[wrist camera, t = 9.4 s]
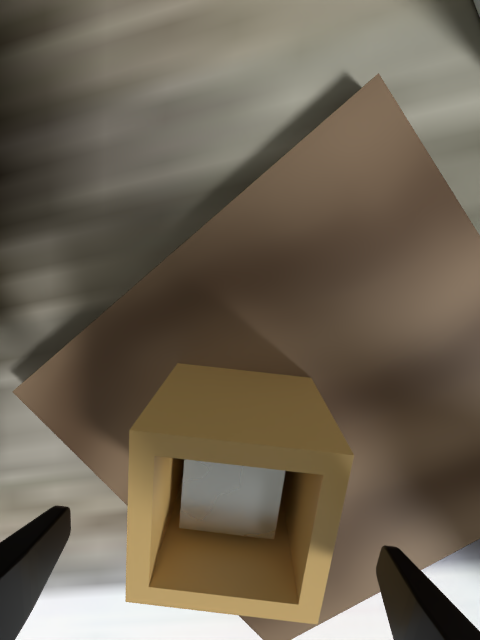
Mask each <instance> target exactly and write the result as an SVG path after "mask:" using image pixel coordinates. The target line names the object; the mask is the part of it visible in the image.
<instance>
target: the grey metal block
mask: <svg viewBox="0 0 480 640" xmlns="http://www.w3.org/2000/svg"><path fill="white" fill-rule="evenodd" d="M284 477H285V471H284V470H275V469H266V468H257V467H249V466H240V465H231V464H222V463H213V462H204V461H196V460H187V459H184V471H183V484H182V497H181V509H180V522H179V528H183V529H191V530H199V531H208V532H216V533H224V534H232V535H241V536H249V537H257V538H265V539H274V537H275V531H276V525H277V519H278V513H279V507H280V501H281V495H282V489H283V483H284Z"/></svg>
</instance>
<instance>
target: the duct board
mask: <svg viewBox="0 0 480 640" xmlns="http://www.w3.org/2000/svg"><path fill="white" fill-rule="evenodd" d="M177 363H181V364H190V365H199V366H208V367H217V368H226V369H236V370H245V371H254V372H263V373H272V374H281V375H290V376H299V377H309V378H312V380H313V382H314V383H315V385H316V387H317V389H318V391H319V393H320V394H321V396H322V398H323V400H324V402H325V403H326V405H327V407H328V409H329V411H330V412H331V414H332V416H333V418H334V420H335V422H336V423H337V425H338V427H339V429H340V431H341V432H342V434H343V436H344V438H345V440H346V441H347V443H348V445H349V447H350V449H351V450H352V452H353V454H354V458H353V463H352V467H351V472H350V477H349V481H348V486H347V491H346V495H345V500H344V505H343V509H342V514H341V519H340V523H339V528H338V532H337V537H336V542H335V546H334V551H333V556H332V560H331V565H330V570H329V574H328V579H327V584H326V588H325V593H324V598H323V602H322V607H321V611H320V616H319V621H318V625H319V624H321V623H323V622H325V621H327V620H328V619H330V618H332V617H334V616H336V615H338V614H340V613H342V612H343V611H345V610H347V609H349V608H351V607H353V606H355V605H357V604H358V603H360V602H362V601H364V600H366V599H368V598H370V597H372V596H373V595H375V594H377V593H379V592H381V591H380V588H379V584H378V580H377V576H376V565H377V562H378V558H379V554H380V551H381V548H382V547H383V546H384V545H386V546H395V547H397V548H399V549H400V550H401V551H402V552H403V553H404V554H405V555H406V556H407V557H408V558H409V559H410V560H411V561H412V562H413V563H414V564H415V565H416V566H417V567H418V568H419V569H420V570H422V569H424V568H426V567H428V566H430V565H431V564H433V563H435V562H437V561H439V560H441V559H443V558H445V557H446V556H448V555H450V554H452V553H454V552H456V551H458V550H460V549H461V548H463V547H465V546H467V545H469V544H471V543H473V542H474V541H476V540H478V539H480V235H479V234H478V232H477V231H476V229H475V227H474V226H473V224H472V223H471V221H470V219H469V218H468V216H467V215H466V213H465V211H464V210H463V208H462V207H461V205H460V203H459V202H458V200H457V199H456V197H455V195H454V194H453V192H452V190H451V189H450V187H449V186H448V184H447V182H446V181H445V179H444V178H443V176H442V174H441V173H440V171H439V170H438V168H437V166H436V165H435V163H434V162H433V160H432V158H431V157H430V155H429V154H428V152H427V150H426V149H425V147H424V145H423V144H422V142H421V141H420V139H419V137H418V136H417V134H416V133H415V131H414V129H413V128H412V126H411V125H410V123H409V121H408V120H407V118H406V117H405V115H404V113H403V112H402V110H401V109H400V107H399V105H398V104H397V102H396V100H395V99H394V97H393V96H392V94H391V92H390V91H389V89H388V88H387V86H386V84H385V83H384V81H383V80H382V78H381V76H380V75H379V73H378V74H377V75H376V76H375V77H374V78H373V79H371V80H370V81H369V82H368V83H367V84H366V85H365V86H363V87H362V88H361V89H360V90H359V91H358V92H357V93H355V94H354V95H353V96H352V97H351V98H350V99H348V100H347V101H346V102H345V103H344V104H343V105H342V106H340V107H339V108H338V109H337V110H336V111H335V112H334V113H332V114H331V115H330V116H329V117H328V118H327V119H325V120H324V121H323V122H322V123H321V124H320V125H319V126H317V127H316V128H315V129H314V130H313V131H312V132H311V133H309V134H308V135H307V136H306V137H305V138H304V139H302V140H301V141H300V142H299V143H298V144H297V145H296V146H294V147H293V148H292V149H291V150H290V151H289V152H288V153H286V154H285V155H284V156H283V157H282V158H281V159H279V160H278V161H277V162H276V163H275V164H274V165H273V166H271V167H270V168H269V169H268V170H267V171H266V172H265V173H263V174H262V175H261V176H260V177H259V178H258V179H256V180H255V181H254V182H253V183H252V184H251V185H250V186H248V187H247V188H246V189H245V190H244V191H243V192H241V193H240V194H239V195H238V196H237V197H236V198H235V199H233V200H232V201H231V202H230V203H229V204H228V205H227V206H225V207H224V208H223V209H222V210H221V211H220V212H218V213H217V214H216V215H215V216H214V217H213V218H212V219H210V220H209V221H208V222H207V223H206V224H205V225H204V226H202V227H201V228H200V229H199V230H198V231H197V232H195V233H194V234H193V235H192V236H191V237H190V238H189V239H187V240H186V241H185V242H184V243H183V244H182V245H181V246H179V247H178V248H177V249H176V250H175V251H174V252H172V253H171V254H170V255H169V256H168V257H167V258H166V259H164V260H163V261H162V262H161V263H160V264H159V265H158V266H156V267H155V268H154V269H153V270H152V271H151V272H149V273H148V274H147V275H146V276H145V277H144V278H143V279H141V280H140V281H139V282H138V283H137V284H136V285H135V286H133V287H132V288H131V289H130V290H129V291H128V292H126V293H125V294H124V295H123V296H122V297H121V298H120V299H118V300H117V301H116V302H115V303H114V304H113V305H112V306H110V307H109V308H108V309H107V310H106V311H105V312H103V313H102V314H101V315H100V316H99V317H98V318H97V319H95V320H94V321H93V322H92V323H91V324H90V325H89V326H87V327H86V328H85V329H84V330H83V331H82V332H80V333H79V334H78V335H77V336H76V337H75V338H74V339H72V340H71V341H70V342H69V343H68V344H67V345H66V346H64V347H63V348H62V349H61V350H60V351H59V352H57V353H56V354H55V355H54V356H53V357H52V358H51V359H49V360H48V361H47V362H46V363H45V364H44V365H43V366H41V367H40V368H39V369H38V370H37V371H36V372H34V373H33V374H32V375H31V376H30V377H29V378H28V379H26V380H25V381H24V382H23V383H22V384H21V385H20V386H18V387H17V388H16V389H15V390H14V391H13V393H14V394H15V395H16V396H17V397H18V398H19V399H20V400H21V401H22V402H23V403H24V404H25V405H26V406H27V407H28V408H29V409H30V410H31V411H32V412H33V413H34V414H35V415H36V416H37V417H38V418H39V419H40V420H41V421H42V422H43V423H44V424H45V425H46V426H48V427H49V428H50V429H51V430H52V431H53V432H54V433H55V434H56V435H57V436H58V437H59V438H60V439H61V440H62V441H63V442H64V443H65V444H66V445H67V446H68V447H69V448H70V449H71V450H72V451H73V452H74V453H75V454H76V455H77V456H78V457H79V458H80V459H81V460H82V461H83V462H84V463H85V464H86V465H87V466H88V467H89V468H90V469H91V470H92V471H93V472H94V473H95V474H96V475H97V476H98V477H99V478H100V479H101V480H102V481H103V482H104V483H105V484H106V485H107V486H108V487H109V488H110V489H111V490H112V491H113V492H114V493H115V494H116V495H117V496H118V497H119V498H120V499H121V500H122V501H123V502H124V503H125V504H126V505H127V506H128V470H129V430H130V428H131V427H132V426H133V424H134V423H135V422H136V420H137V419H138V417H139V416H140V415H141V413H142V412H143V410H144V409H145V408H146V406H147V405H148V404H149V402H150V401H151V399H152V398H153V397H154V395H155V394H156V392H157V391H158V390H159V388H160V387H161V386H162V384H163V383H164V381H165V380H166V379H167V377H168V376H169V374H170V373H171V372H172V370H173V369H174V368H175V366H176V365H177ZM239 616H240V617H241V618H242V619H243V620H244V621H245V622H246V623H247V624H248V625H249V626H250V627H251V628H252V629H253V630H254V631H255V632H256V633H257V634H258V635H259V636H260V637H261V638H262V639H263V640H291V639H293V638H295V637H297V636H298V635H300V634H302V633H304V632H306V631H308V630H310V629H312V628H313V627H315V626H317V624H308V623H300V622H292V621H283V620H275V619H266V618H258V617H250V616H241V615H239Z"/></svg>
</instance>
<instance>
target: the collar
mask: <svg viewBox="0 0 480 640" xmlns="http://www.w3.org/2000/svg"><path fill="white" fill-rule="evenodd" d="M353 458H354V454H353V452H352V450H351V449H350V447H349V445H348V443H347V441H346V440H345V438H344V436H343V434H342V432H341V431H340V429H339V427H338V425H337V423H336V422H335V420H334V418H333V416H332V414H331V412H330V411H329V409H328V407H327V405H326V403H325V402H324V400H323V398H322V396H321V394H320V393H319V391H318V389H317V387H316V385H315V383H314V382H313V380H312V378H309V377H299V376H290V375H281V374H272V373H263V372H254V371H245V370H236V369H226V368H217V367H208V366H199V365H190V364H181V363H177V365H176V366H175V368H174V369H173V370H172V372H171V373H170V374H169V376H168V377H167V379H166V380H165V381H164V383H163V384H162V386H161V387H160V388H159V390H158V391H157V392H156V394H155V395H154V397H153V398H152V399H151V401H150V402H149V404H148V405H147V406H146V408H145V409H144V410H143V412H142V413H141V415H140V416H139V417H138V419H137V420H136V422H135V423H134V424H133V426H132V427H131V428H130V430H129V470H128V515H127V560H126V602H132V603H140V604H149V605H157V606H165V607H174V608H182V609H191V610H199V611H208V612H216V613H224V614H233V615H241V616H250V617H258V618H266V619H275V620H283V621H292V622H300V623H308V624H317V625H318V621H319V616H320V611H321V607H322V602H323V598H324V593H325V588H326V584H327V579H328V574H329V570H330V565H331V560H332V556H333V551H334V546H335V542H336V537H337V532H338V528H339V523H340V519H341V514H342V509H343V505H344V500H345V495H346V491H347V486H348V481H349V477H350V472H351V467H352V463H353ZM184 459H187V460H196V461H204V462H213V463H222V464H231V465H240V466H249V467H257V468H266V469H275V470H284V471H285V477H284V483H283V489H282V495H281V501H280V507H279V513H278V519H277V525H276V531H275V537H274V539H265V538H257V537H249V536H241V535H232V534H224V533H216V532H208V531H199V530H191V529H183V528H179V522H180V509H181V497H182V484H183V471H184Z"/></svg>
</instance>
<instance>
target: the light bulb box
mask: <svg viewBox="0 0 480 640" xmlns="http://www.w3.org/2000/svg"><path fill="white" fill-rule="evenodd" d="M474 3H475V6H476V9H477V12H478V14H479V17H480V0H474Z"/></svg>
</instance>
